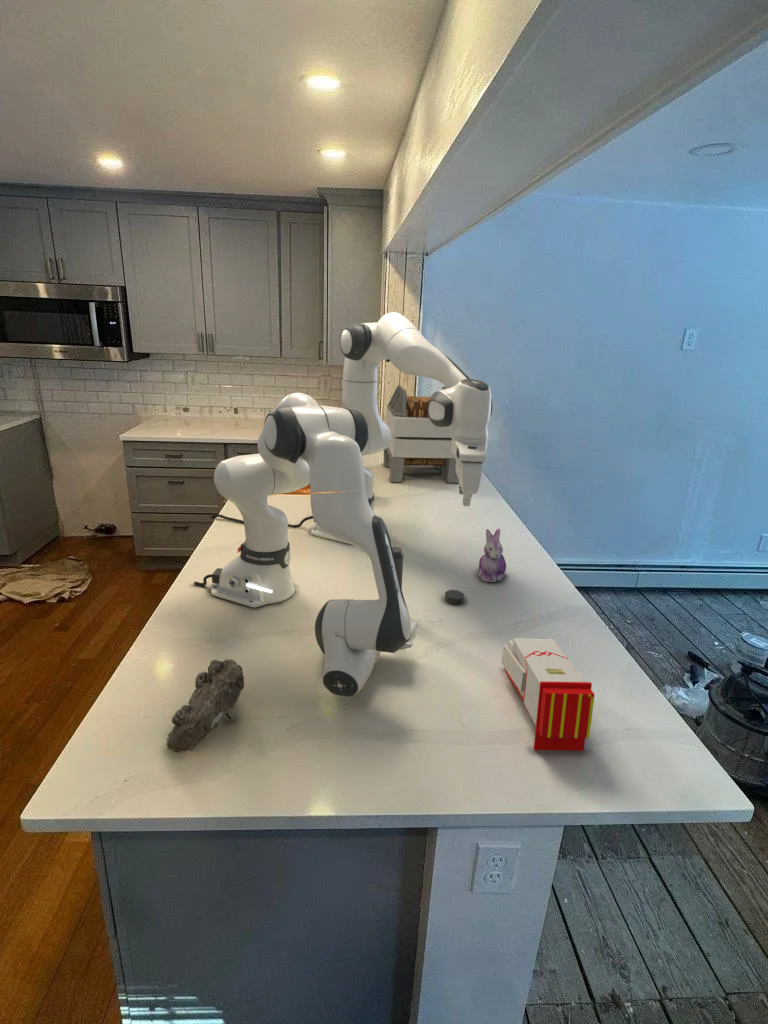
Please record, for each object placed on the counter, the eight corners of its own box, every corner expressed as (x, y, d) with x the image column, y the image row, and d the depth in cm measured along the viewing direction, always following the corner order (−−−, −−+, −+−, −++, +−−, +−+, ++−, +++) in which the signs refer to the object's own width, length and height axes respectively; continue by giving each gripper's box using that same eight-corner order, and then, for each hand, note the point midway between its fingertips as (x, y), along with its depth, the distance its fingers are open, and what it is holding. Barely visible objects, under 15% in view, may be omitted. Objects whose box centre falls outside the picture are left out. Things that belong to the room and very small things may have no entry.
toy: (549, 621, 128) (604, 690, 99) (544, 676, 131) (595, 758, 101) (496, 620, 128) (535, 688, 98) (492, 675, 130) (528, 757, 101)
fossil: (192, 660, 117) (244, 628, 112) (224, 691, 120) (276, 661, 115) (142, 746, 98) (202, 712, 93) (182, 779, 101) (242, 748, 96)
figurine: (489, 586, 164) (495, 538, 159) (468, 571, 173) (473, 526, 168) (514, 580, 169) (521, 533, 163) (493, 566, 177) (498, 521, 172)
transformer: (382, 463, 289) (386, 382, 275) (445, 464, 293) (451, 384, 279) (390, 482, 257) (394, 392, 243) (460, 483, 261) (468, 394, 247)
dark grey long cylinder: (378, 610, 149) (381, 547, 143) (393, 606, 151) (396, 544, 145) (388, 618, 145) (391, 554, 139) (403, 614, 148) (407, 550, 142)
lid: (467, 601, 156) (468, 595, 155) (454, 606, 152) (455, 600, 152) (453, 593, 159) (454, 588, 159) (440, 599, 156) (441, 593, 155)
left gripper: (411, 636, 118) (423, 605, 131) (319, 620, 123) (339, 591, 135) (409, 662, 121) (421, 629, 133) (318, 645, 125) (339, 614, 138)
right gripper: (452, 437, 151) (448, 486, 156) (460, 456, 132) (455, 512, 136) (476, 438, 151) (471, 487, 156) (487, 457, 132) (481, 513, 136)
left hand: (379, 609), depth 134 cm, fingers open, 8 cm apart
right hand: (464, 499), depth 146 cm, fingers open, 8 cm apart
